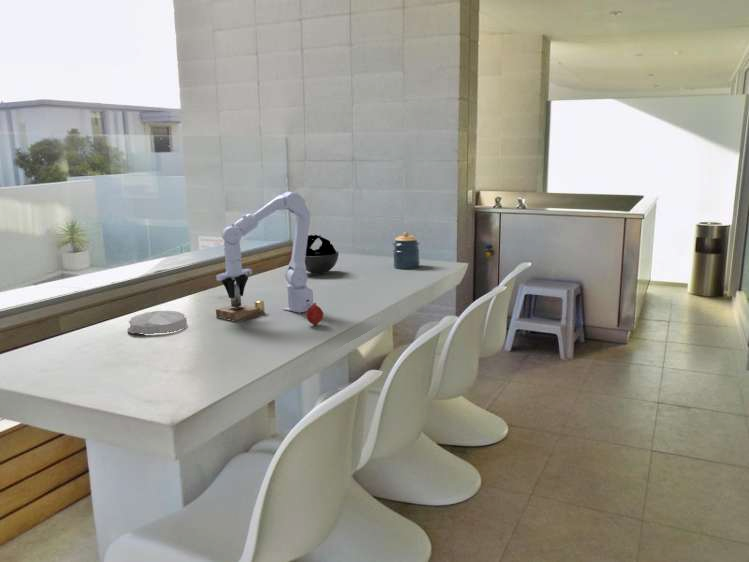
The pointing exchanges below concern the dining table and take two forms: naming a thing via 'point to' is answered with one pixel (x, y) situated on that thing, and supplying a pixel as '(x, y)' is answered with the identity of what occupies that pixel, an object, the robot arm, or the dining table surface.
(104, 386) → the dining table surface
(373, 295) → the dining table surface
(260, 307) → the brass pin short
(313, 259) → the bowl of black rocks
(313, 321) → the onion
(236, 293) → the steel pin long
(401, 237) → the canister
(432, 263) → the dining table surface
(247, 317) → the collar block
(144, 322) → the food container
